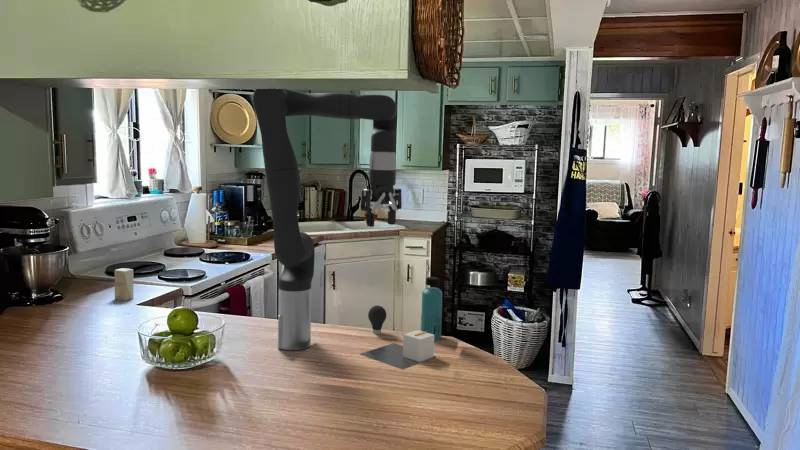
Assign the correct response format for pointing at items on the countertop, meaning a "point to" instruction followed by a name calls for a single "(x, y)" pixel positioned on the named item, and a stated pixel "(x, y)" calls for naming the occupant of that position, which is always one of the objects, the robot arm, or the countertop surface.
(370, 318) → the light bulb
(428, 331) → the beverage bottle
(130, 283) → the cream upright cylinder
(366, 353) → the plate
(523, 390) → the countertop surface
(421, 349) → the white box
